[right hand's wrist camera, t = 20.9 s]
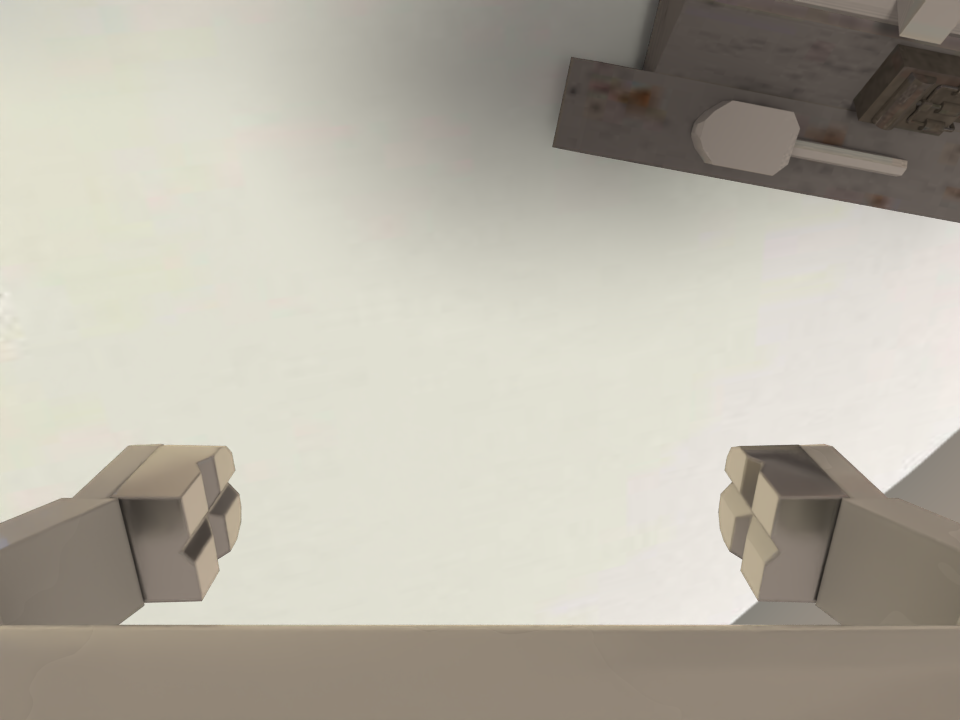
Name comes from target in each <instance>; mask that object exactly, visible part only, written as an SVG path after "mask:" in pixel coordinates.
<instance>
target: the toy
mask: <svg viewBox="0 0 960 720" xmlns="http://www.w3.org/2000/svg"><path fill="white" fill-rule="evenodd" d="M552 147H555V148H560V149H565V150H570V151H575V152H580V153H585V154H591V155H596V156H602V157H607V158H612V159H618V160H623V161H629V162H634V163H639V164H645V165H650V166H656V167H661V168H666V169H672V170H677V171H683V172H688V173H693V174H699V175H704V176H710V177H715V178H720V179H726V180H731V181H737V182H742V183H747V184H753V185H758V186H764V187H769V188H774V189H780V190H785V191H791V192H796V193H801V194H807V195H812V196H818V197H823V198H828V199H834V200H839V201H845V202H850V203H855V204H861V205H866V206H872V207H877V208H882V209H888V210H893V211H899V212H904V213H909V214H915V215H920V216H926V217H931V218H936V219H942V220H947V221H953V222H958V223H960V0H660V1H659V5H658V9H657V13H656V17H655V21H654V26H653V30H652V34H651V38H650V42H649V46H648V50H647V54H646V58H645V62H644V66H643V70H639V69H634V68H629V67H623V66H618V65H613V64H608V63H603V62H597V61H591V60H586V59H580V58H574V57H571V62H570V66H569V71H568V76H567V80H566V85H565V90H564V95H563V99H562V104H561V109H560V113H559V118H558V123H557V128H556V132H555V137H554V142H553V146H552Z"/></svg>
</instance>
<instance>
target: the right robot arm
mask: <svg viewBox="0 0 960 720" xmlns="http://www.w3.org/2000/svg"><path fill="white" fill-rule="evenodd" d="M234 472H235V466H234V461H233V456H232V452H231V451H230V450H229V449H228V447H227V446H203V445H163V444H149V445H131V446H128V447H126V448H125V449H124V450H123V451H122V452H121V453H120V454H119V455H118V456H117V457H116V458H115V459H114V460H112V461H111V462H110V463H109V464H108V465H107V466H106V467H105V468H104V469H103V470H102V471H101V472H100V473H98V474H97V475H96V476H95V477H94V478H93V479H92V480H91V481H90V482H89V483H88V484H87V485H86V486H85V487H83V488H82V489H81V490H80V491H79V492H78V493H77V494H76V495H75V496H74V497H73V498H61V499H58V500H56V501H53V502H51V503H49V504H46V505H44V506H41V507H39V508H36V509H34V510H31V511H29V512H26V513H24V514H22V515H19V516H17V517H14V518H12V519H9V520H7V521H4V522H2V523H0V720H960V523H958V522H955V521H953V520H950V519H948V518H945V517H943V516H941V515H938V514H936V513H933V512H931V511H928V510H926V509H924V508H921V507H919V506H916V505H914V504H911V503H909V502H907V501H904V500H902V499H899V498H887V497H886V496H885V495H884V494H883V493H882V492H881V491H880V490H879V489H878V488H877V487H876V486H874V485H873V484H872V483H871V482H870V481H869V480H868V479H867V478H866V477H865V476H864V475H863V474H862V473H861V472H859V471H858V470H857V469H856V468H855V467H854V466H853V465H852V464H851V463H850V462H849V461H848V460H847V459H846V458H844V457H843V456H842V455H841V454H840V453H839V452H838V451H837V450H836V449H835V448H834V447H833V446H829V445H826V444H813V445H766V446H737V447H731V449H730V451H729V453H728V456H727V459H726V465H725V472H726V473H727V475H728V476H729V478H730V479H731V481H732V483H731V484H730V485H729V486H728V487H727V488H726V489H725V490H724V491H723V492H722V493H721V495H720V503H719V511H718V513H719V525H720V531H721V534H722V537H723V540H724V542H725V544H726V546H727V548H728V550H729V551H730V552H731V553H733V554H735V555H736V556H738V557H739V558H741V559H742V565H741V570H740V571H741V572H742V574H743V576H744V578H745V579H746V581H747V583H748V584H749V586H750V588H751V590H752V591H753V593H754V595H755V597H756V598H757V600H758V601H771V602H808V603H816V606H817V607H819V608H820V609H821V610H823V611H824V612H825V613H827V614H828V615H829V616H831V617H832V618H833V619H835V620H836V621H837V622H839V623H840V624H841V625H119V624H120V623H122V622H123V621H124V620H126V619H127V618H128V617H130V616H131V615H132V614H134V613H135V612H136V611H138V610H139V609H140V608H142V607H143V606H144V603H152V602H188V601H202V600H203V598H204V597H205V595H206V593H207V591H208V590H209V588H210V586H211V585H212V583H213V581H214V579H215V578H216V576H217V574H218V572H219V571H220V570H219V565H218V559H219V558H221V557H222V556H224V555H225V554H227V553H229V552H230V551H231V550H232V548H233V546H234V544H235V542H236V540H237V538H238V533H239V529H240V525H241V502H240V495H239V493H238V492H237V491H236V490H235V489H234V488H233V487H232V486H231V485H230V484H229V483H228V481H229V479H230V478H231V476H232V475H233V473H234Z"/></svg>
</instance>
